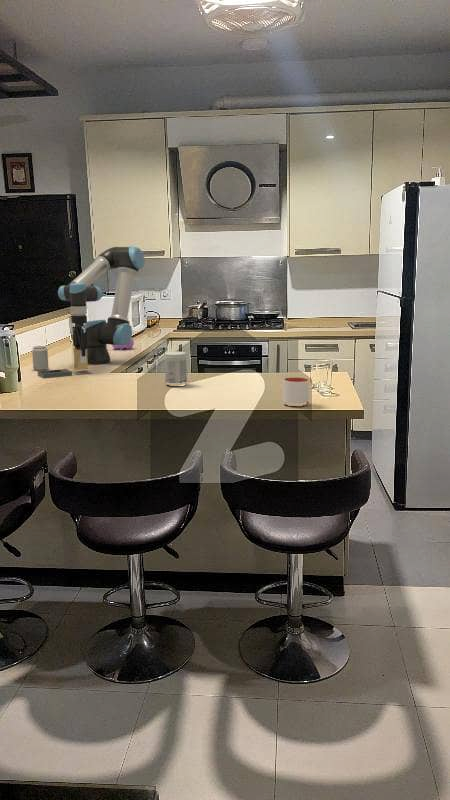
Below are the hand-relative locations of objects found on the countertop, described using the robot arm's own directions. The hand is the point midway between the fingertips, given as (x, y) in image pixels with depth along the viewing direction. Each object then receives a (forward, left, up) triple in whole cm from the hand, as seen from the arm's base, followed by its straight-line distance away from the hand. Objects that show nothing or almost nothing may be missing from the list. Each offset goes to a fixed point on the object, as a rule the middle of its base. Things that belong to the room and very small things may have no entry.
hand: (81, 361), depth 306 cm
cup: (-44, +112, -6) cm, 120 cm away
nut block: (0, 0, -3) cm, 3 cm away
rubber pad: (0, 0, -5) cm, 5 cm away
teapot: (-54, -68, -6) cm, 87 cm away
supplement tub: (-24, +53, -6) cm, 58 cm away
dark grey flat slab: (+13, 0, -5) cm, 15 cm away
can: (+14, -20, -6) cm, 25 cm away
